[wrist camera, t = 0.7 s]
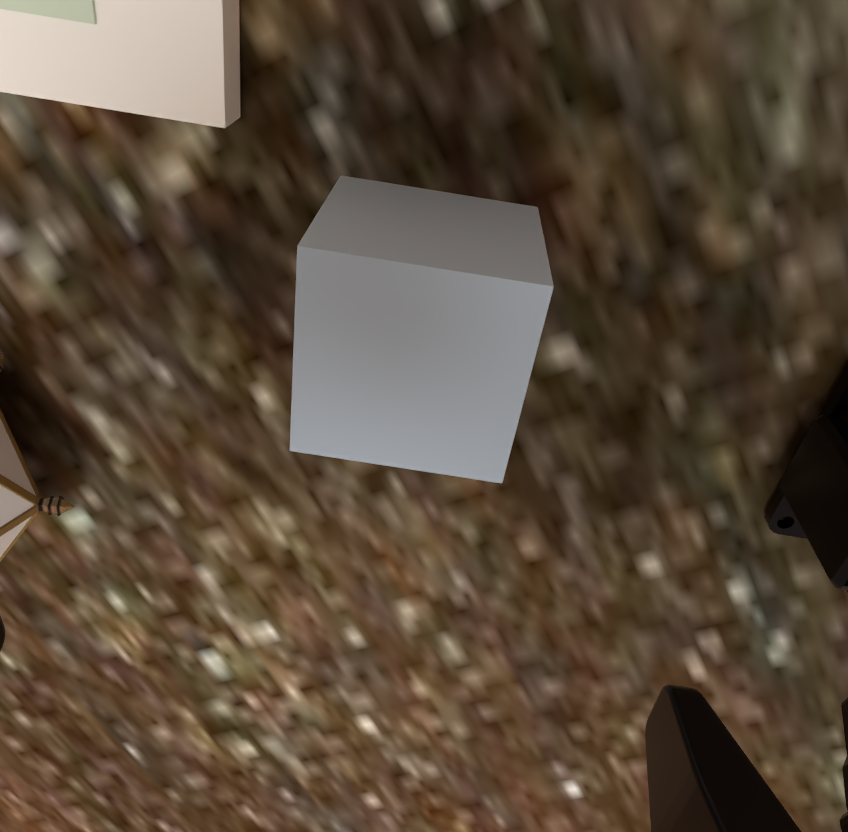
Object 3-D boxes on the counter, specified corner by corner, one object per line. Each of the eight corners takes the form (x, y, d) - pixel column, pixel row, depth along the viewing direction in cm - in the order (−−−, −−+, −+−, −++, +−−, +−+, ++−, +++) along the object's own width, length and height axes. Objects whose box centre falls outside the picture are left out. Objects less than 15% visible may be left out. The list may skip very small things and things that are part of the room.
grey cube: (537, 205, 18) (553, 286, 14) (498, 374, 20) (502, 483, 16) (341, 174, 18) (297, 245, 13) (329, 347, 20) (289, 450, 16)
